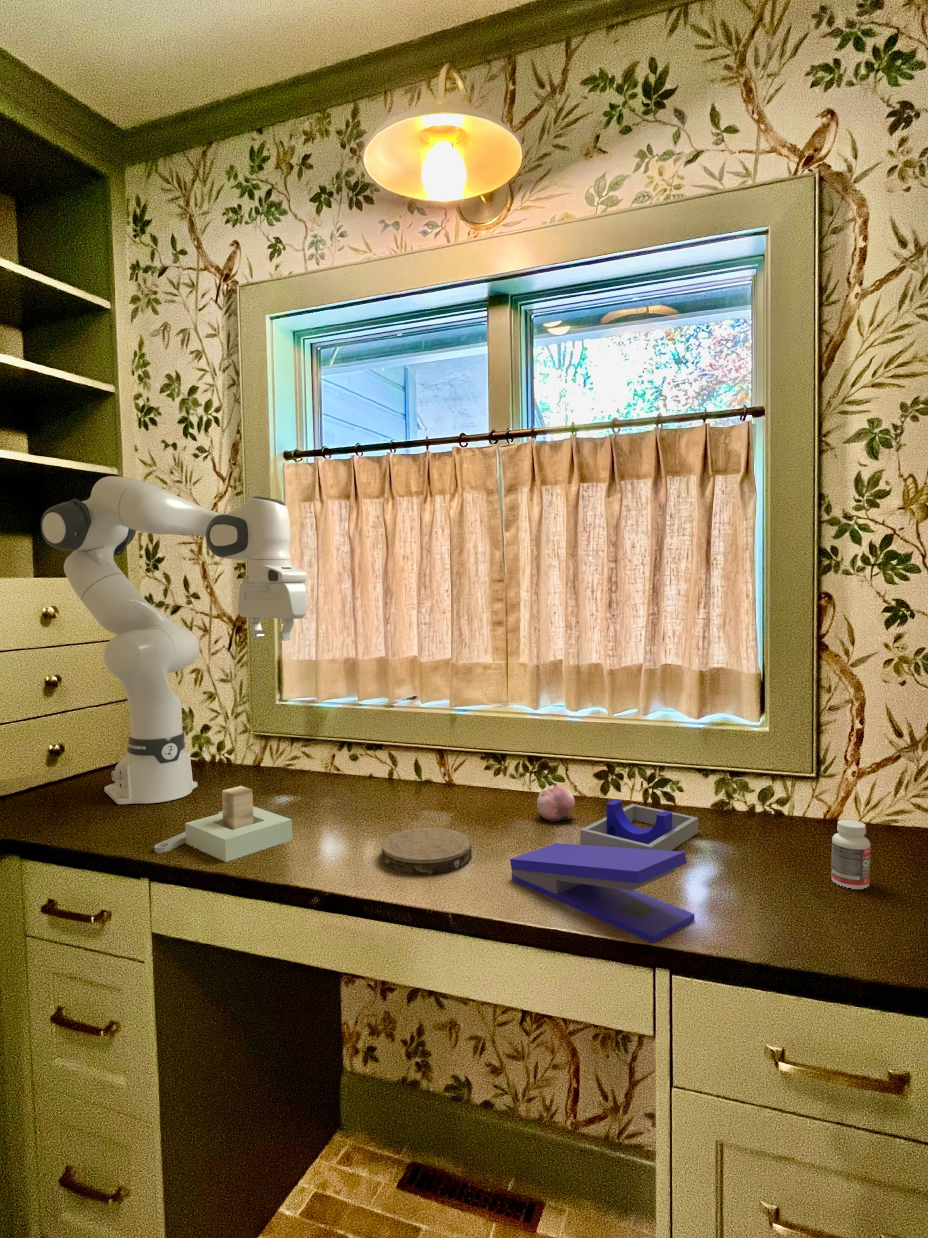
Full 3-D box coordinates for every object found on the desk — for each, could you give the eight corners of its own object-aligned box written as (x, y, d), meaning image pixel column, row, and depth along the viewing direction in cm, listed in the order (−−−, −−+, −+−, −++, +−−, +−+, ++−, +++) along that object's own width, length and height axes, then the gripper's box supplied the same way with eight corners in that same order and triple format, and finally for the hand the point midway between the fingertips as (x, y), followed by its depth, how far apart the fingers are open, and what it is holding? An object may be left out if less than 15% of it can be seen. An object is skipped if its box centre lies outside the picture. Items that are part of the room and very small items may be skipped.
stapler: (650, 947, 96) (650, 875, 96) (506, 882, 118) (505, 823, 117) (698, 921, 104) (698, 853, 103) (554, 864, 125) (554, 808, 125)
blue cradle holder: (675, 842, 133) (676, 810, 133) (664, 849, 130) (664, 816, 129) (618, 828, 141) (618, 798, 141) (606, 834, 138) (606, 803, 138)
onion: (532, 824, 147) (526, 789, 149) (557, 820, 152) (551, 785, 154) (561, 821, 142) (554, 784, 143) (586, 816, 147) (579, 780, 148)
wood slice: (363, 861, 127) (363, 845, 127) (426, 837, 139) (426, 822, 139) (428, 886, 116) (427, 867, 116) (490, 857, 128) (490, 840, 128)
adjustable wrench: (162, 857, 131) (161, 847, 131) (137, 852, 134) (137, 842, 134) (258, 815, 153) (258, 807, 153) (236, 812, 156) (235, 803, 156)
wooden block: (223, 842, 136) (222, 790, 136) (242, 836, 139) (241, 785, 139) (234, 847, 134) (233, 794, 133) (253, 841, 137) (252, 789, 136)
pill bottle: (872, 893, 111) (873, 830, 111) (833, 888, 113) (834, 826, 113) (866, 879, 116) (867, 820, 116) (829, 874, 118) (830, 816, 118)
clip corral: (580, 845, 133) (580, 829, 132) (632, 818, 148) (632, 803, 147) (650, 864, 123) (650, 847, 123) (698, 833, 138) (698, 817, 138)
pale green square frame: (185, 844, 136) (185, 823, 136) (250, 824, 146) (250, 805, 146) (225, 862, 127) (225, 839, 126) (292, 840, 137) (291, 819, 137)
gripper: (229, 574, 156) (231, 638, 157) (285, 573, 143) (287, 642, 143) (255, 574, 161) (256, 636, 162) (311, 573, 148) (312, 640, 148)
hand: (271, 639), depth 152 cm, fingers open, 8 cm apart
